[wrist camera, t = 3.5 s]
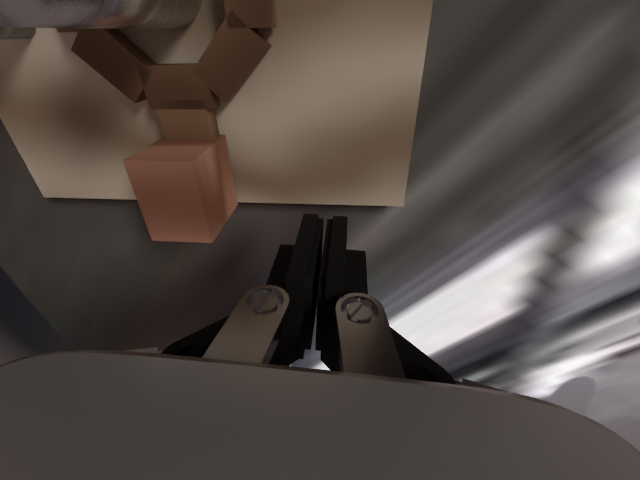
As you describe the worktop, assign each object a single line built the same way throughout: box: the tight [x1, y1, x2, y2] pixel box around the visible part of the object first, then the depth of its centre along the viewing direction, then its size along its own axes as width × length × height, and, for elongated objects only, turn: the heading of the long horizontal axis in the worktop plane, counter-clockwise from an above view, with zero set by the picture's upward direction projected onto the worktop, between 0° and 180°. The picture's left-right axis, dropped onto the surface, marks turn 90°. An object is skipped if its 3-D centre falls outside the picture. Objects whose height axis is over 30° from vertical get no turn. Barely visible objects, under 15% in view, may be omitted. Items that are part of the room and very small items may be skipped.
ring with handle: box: [56, 0, 277, 243], centre depth 13 cm, size 15×9×4 cm, turn 1°
